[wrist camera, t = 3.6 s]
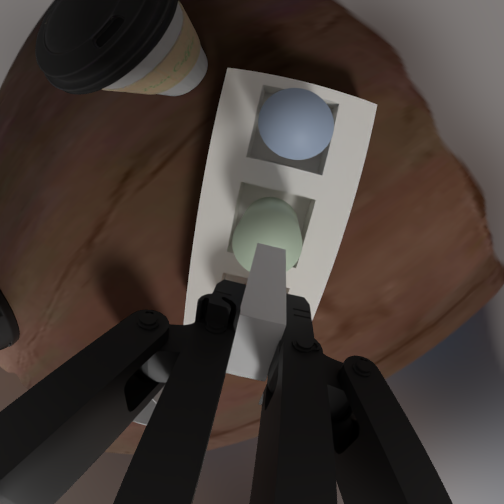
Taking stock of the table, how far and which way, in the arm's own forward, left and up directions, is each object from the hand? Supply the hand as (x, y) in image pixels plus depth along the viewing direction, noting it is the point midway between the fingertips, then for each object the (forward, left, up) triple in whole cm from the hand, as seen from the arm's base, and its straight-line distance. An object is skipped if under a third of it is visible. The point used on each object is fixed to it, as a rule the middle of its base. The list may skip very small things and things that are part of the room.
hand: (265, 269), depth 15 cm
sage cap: (0, 0, -9) cm, 9 cm away
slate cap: (0, +8, -9) cm, 12 cm away
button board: (0, 0, -12) cm, 12 cm away
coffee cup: (-12, +13, -12) cm, 21 cm away
